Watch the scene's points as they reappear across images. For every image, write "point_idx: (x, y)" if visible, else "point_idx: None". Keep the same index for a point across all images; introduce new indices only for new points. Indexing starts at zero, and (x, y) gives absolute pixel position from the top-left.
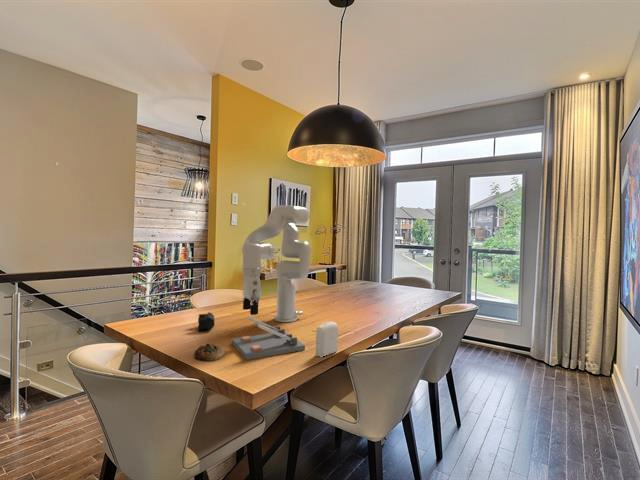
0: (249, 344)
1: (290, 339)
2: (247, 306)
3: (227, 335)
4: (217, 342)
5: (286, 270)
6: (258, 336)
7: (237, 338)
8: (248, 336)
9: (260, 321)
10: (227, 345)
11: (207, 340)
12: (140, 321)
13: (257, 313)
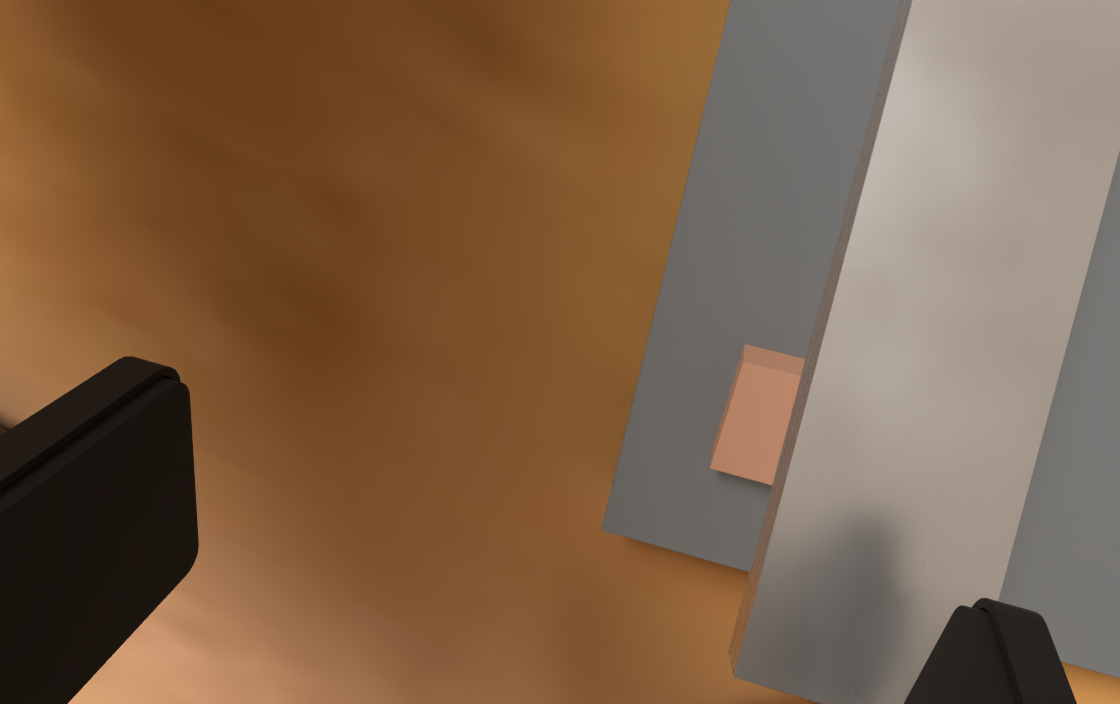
0: (1048, 506)
1: None
2: (126, 528)
3: (268, 355)
4: (477, 572)
5: None
6: (793, 153)
7: (647, 473)
8: (771, 379)
9: (859, 245)
10: (653, 555)
11: (352, 604)
12: None
13: (1033, 636)
